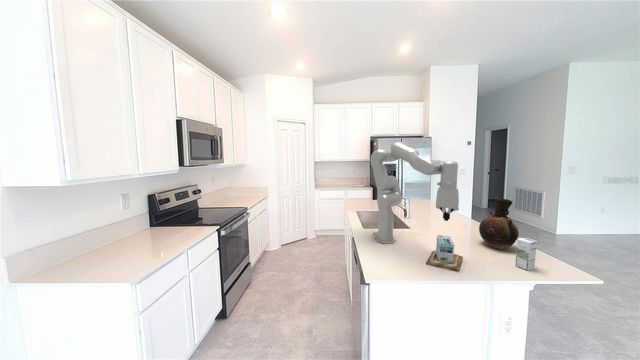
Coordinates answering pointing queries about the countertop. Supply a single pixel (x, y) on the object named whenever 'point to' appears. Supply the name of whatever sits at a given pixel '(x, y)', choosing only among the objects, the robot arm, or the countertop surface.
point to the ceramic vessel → (499, 226)
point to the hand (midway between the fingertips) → (446, 220)
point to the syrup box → (526, 253)
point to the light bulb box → (445, 249)
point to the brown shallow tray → (454, 267)
